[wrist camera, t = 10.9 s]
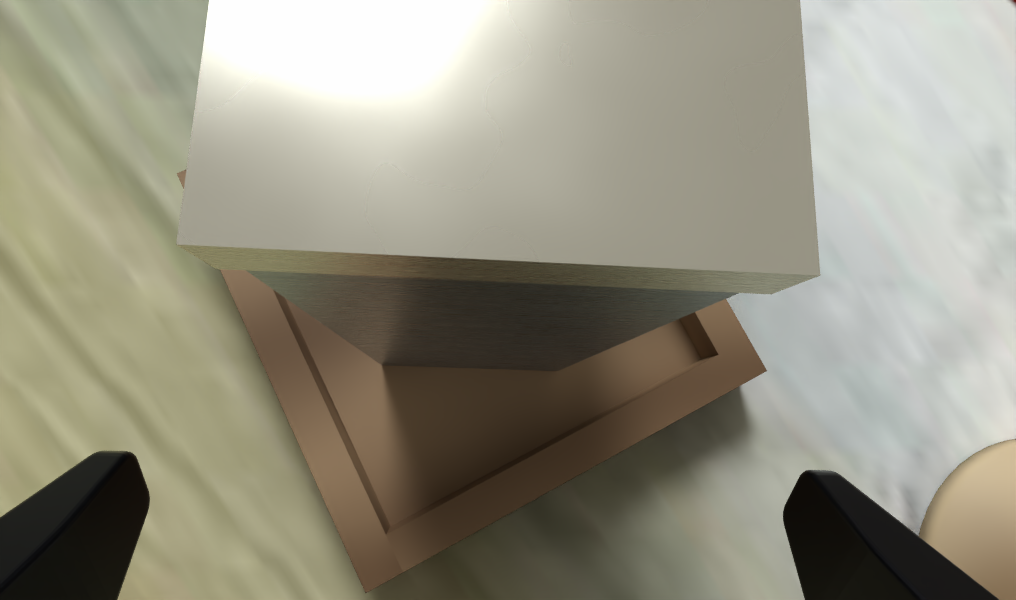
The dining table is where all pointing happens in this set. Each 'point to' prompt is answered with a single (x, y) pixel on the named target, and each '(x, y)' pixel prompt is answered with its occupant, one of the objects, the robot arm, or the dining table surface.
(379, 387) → the walnut tray
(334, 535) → the dining table surface
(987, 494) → the cork coaster
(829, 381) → the dining table surface
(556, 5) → the tea tin
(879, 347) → the dining table surface
